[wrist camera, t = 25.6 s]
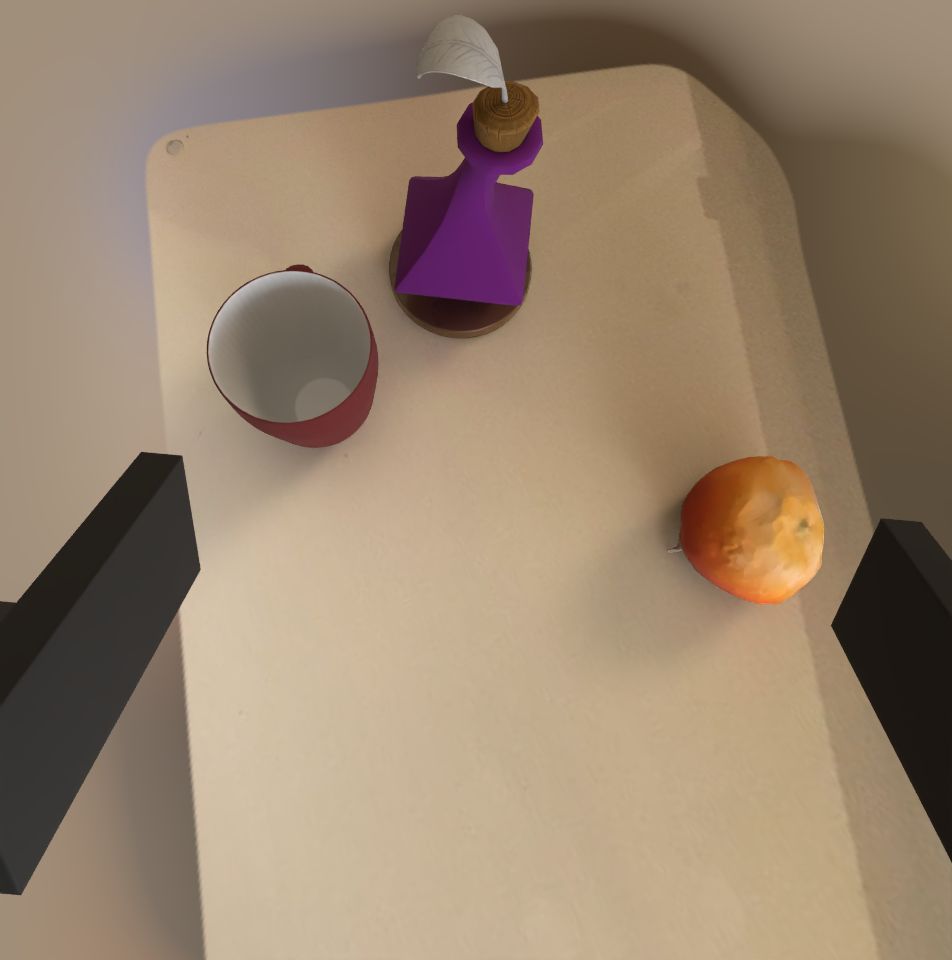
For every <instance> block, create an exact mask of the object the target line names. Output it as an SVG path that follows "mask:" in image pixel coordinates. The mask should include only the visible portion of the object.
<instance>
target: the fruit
mask: <svg viewBox="0 0 952 960" xmlns="http://www.w3.org/2000/svg"><path fill="white" fill-rule="evenodd" d="M823 543H824V523H823V518H822V515H821V512H820V508H819V505H818V502H817V499H816V496H815V493H814V490H813V487H812V485H811V482H810V481H809V479H808V478H807V476H806V474H805V473H804V471H803V470H802V469H801V468H800V467H798V466H797V465H796V464H794V463H792V462H791V461H782V460H778V459H776V458H774V457H760V456H759V457H749V458H744V459H740V460H736V461H733V462H730V463H727V464H725V465H722V466H720V467H717V468H715V469H714V470H712V471H711V472H709V473H708V474H706V475H705V476H704V477H703V478H702V479H700V480H699V481H698V482H697V483H696V484H695V485H694V487H693V488H692V489H691V491H690V492H689V494H688V495H687V497H686V499H685V500H684V502H683V505H682V512H681V530H680V539H679V544H678V546H677V547H676V548H673V549H670V550H668V551H669V552H668V553H672V552H678V551H683V552H684V553H685V555H686V556H687V558H688V560H689V561H690V562H691V564H692V565H693V567H694V568H695V569H696V570H697V571H698V572H699V573H700V574H701V575H702V576H704V577H705V578H706V579H707V580H709V581H710V582H712V583H713V584H715V585H716V586H718V587H719V588H721V589H722V590H724V591H726V592H728V593H730V594H732V595H734V596H737V597H739V598H741V599H744V600H747V601H750V602H754V603H758V604H778V603H781V602H782V601H784V600H786V599H787V598H789V597H790V596H792V595H793V594H794V593H795V592H796V591H798V590H800V589H801V588H802V587H803V586H804V585H805V584H806V583H807V582H808V581H810V580H811V579H812V578H813V576H814V575H815V574H816V572H817V571H818V569H819V568H820V567H821V564H822V549H823Z"/></svg>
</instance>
